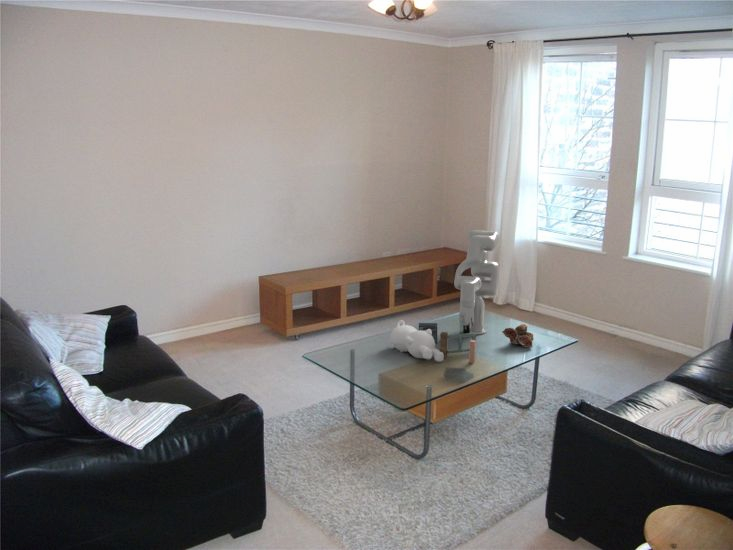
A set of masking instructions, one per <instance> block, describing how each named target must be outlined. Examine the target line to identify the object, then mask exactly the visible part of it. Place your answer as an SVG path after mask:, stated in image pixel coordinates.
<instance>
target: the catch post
mask: <svg viewBox="0 0 733 550" xmlns="http://www.w3.org/2000/svg"><path fill="white" fill-rule="evenodd" d="M476 341H477V339H476V340H472V339H470V340H469V348H470V351H468V352H469V353H468V354H469V357H468V364H472V363H474V362H476V347H477V345H476V343H477V342H476ZM474 364H475V363H474Z"/></svg>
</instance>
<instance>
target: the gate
mask: <svg viewBox="0 0 733 550" xmlns="http://www.w3.org/2000/svg"><path fill="white" fill-rule="evenodd" d="M466 337H467V338H469V337H471V340H476V341H477V335H476V333H475V332H474V333H465V334H463V333H458V334H448V340H449V339H459V341H458V344H459V345H458V348H455V349H447V355H448V354H457V353H466V352H470V347H466V348H464V347H462V345H463V342H462V341H463V340H462V339H463V338H466ZM448 344H449V343H448V341H447V345H448Z"/></svg>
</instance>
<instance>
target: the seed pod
mask: <svg viewBox="0 0 733 550" xmlns="http://www.w3.org/2000/svg"><path fill="white" fill-rule="evenodd" d="M527 331H528V325H526V324H525V323H521V324H519V325H516V327H515V328H514V327H507V328H505V329H504V330H503V331H501V333H502V334H503V335H504V337H506V338H508V339H509V342H510V344H512V345H518V344H520V345H522V346H523V347H525V348H533V341H534V334H533V333H532V332H529V331H528V332H527Z"/></svg>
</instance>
